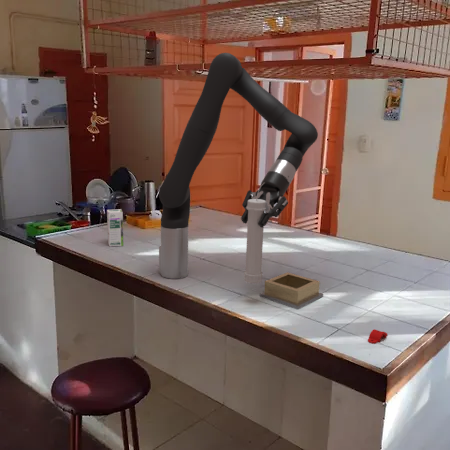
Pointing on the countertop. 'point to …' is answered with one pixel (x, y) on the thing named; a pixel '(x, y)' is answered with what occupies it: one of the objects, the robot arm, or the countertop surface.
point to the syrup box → (115, 227)
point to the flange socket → (292, 290)
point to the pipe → (254, 241)
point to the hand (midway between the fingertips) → (251, 223)
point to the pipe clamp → (376, 336)
